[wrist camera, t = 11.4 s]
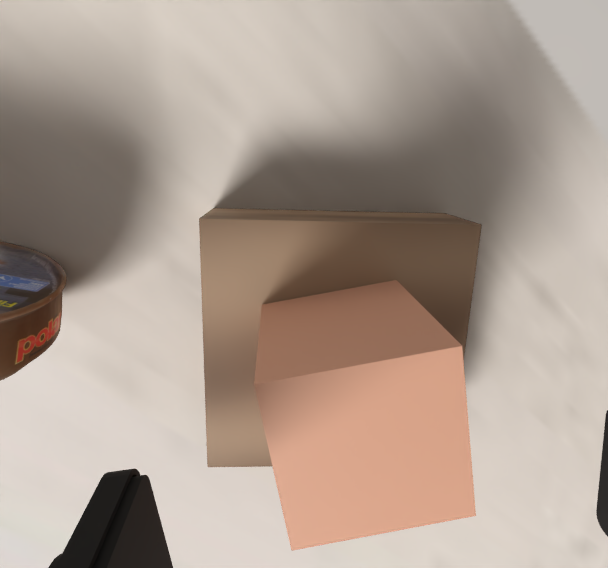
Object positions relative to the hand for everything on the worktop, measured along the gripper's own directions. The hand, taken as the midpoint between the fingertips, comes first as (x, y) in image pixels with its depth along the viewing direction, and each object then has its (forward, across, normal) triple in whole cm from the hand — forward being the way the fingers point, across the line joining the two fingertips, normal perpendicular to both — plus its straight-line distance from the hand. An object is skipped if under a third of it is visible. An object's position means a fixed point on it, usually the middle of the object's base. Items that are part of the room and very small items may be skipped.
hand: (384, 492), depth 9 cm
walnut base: (+12, 0, +1) cm, 12 cm away
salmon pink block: (+8, 0, +1) cm, 8 cm away
